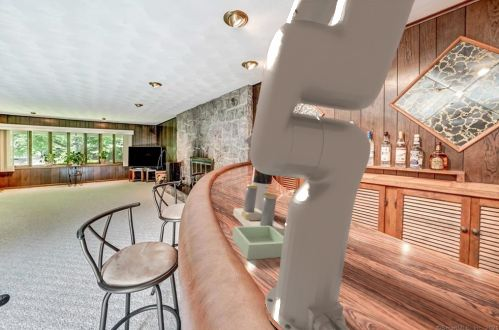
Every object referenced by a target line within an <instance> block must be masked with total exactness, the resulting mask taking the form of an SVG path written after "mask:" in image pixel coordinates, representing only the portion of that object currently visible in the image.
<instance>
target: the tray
mask: <svg viewBox="0 0 499 330" xmlns="http://www.w3.org/2000/svg"><path fill="white" fill-rule="evenodd" d="M283 238H284V236H282V235H281V234H280V233H279V232H277V231H276V230H275V229H274V228H273V227H271V226H243V225H242V226H241V225H239V226H236V225H235V226H233V230H232V238H231V239H232V241H233V242H234V244H235V245H236V246H237V248H238V249H239V251H240V252H241V253H242V255H243V256H244V258H245V259H246V260H247V261H251V260H263V259H274V258H281V253H282V245H283Z"/></svg>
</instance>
